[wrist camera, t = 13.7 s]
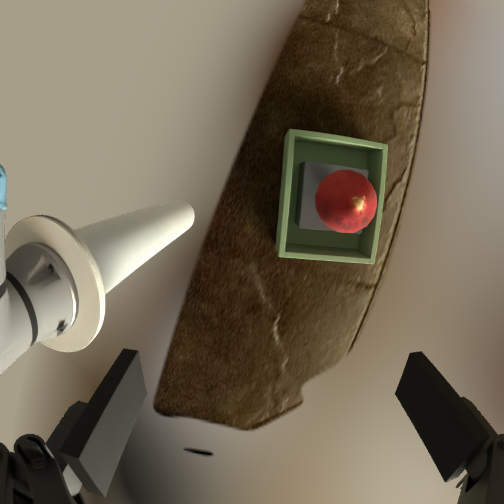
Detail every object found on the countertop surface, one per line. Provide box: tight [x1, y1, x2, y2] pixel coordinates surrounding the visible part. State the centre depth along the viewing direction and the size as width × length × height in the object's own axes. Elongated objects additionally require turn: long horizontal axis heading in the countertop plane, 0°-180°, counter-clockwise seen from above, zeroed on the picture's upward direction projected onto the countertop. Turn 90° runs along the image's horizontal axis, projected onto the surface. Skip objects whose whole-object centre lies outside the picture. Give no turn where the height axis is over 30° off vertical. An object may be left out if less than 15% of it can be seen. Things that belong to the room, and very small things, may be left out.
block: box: [294, 161, 368, 234], centre depth 31 cm, size 7×7×4 cm
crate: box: [276, 129, 388, 264], centre depth 31 cm, size 11×13×5 cm
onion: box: [315, 170, 377, 233], centre depth 25 cm, size 6×6×8 cm
